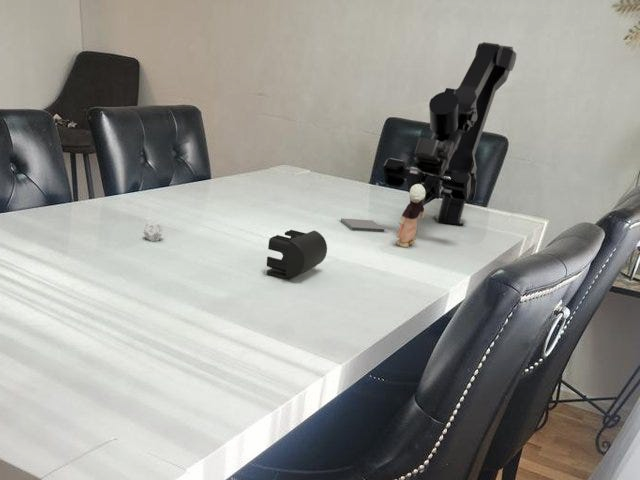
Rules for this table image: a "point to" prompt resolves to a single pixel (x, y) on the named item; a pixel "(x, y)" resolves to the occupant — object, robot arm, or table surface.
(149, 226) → the whitish grey rough lump
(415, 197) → the grandmother figurine
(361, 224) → the slate coaster
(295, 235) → the end cap
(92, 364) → the table surface
